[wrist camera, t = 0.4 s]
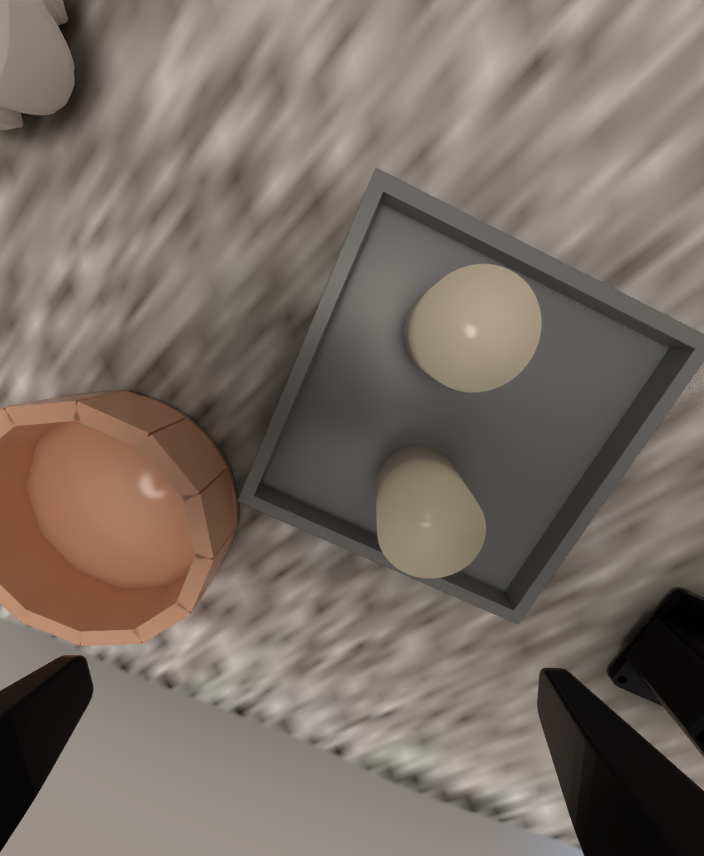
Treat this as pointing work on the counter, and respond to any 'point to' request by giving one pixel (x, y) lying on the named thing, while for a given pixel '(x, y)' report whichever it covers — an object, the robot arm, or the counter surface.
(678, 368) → the parts tray
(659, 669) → the robot arm
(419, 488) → the cream rounded piece
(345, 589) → the counter surface
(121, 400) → the bowl
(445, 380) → the pebble
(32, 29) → the water bottle
